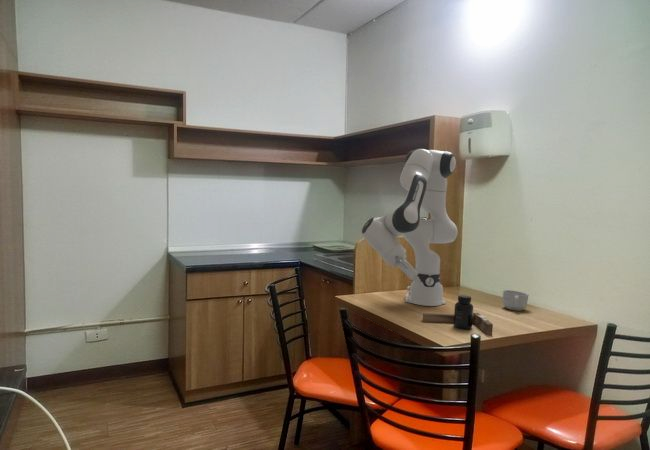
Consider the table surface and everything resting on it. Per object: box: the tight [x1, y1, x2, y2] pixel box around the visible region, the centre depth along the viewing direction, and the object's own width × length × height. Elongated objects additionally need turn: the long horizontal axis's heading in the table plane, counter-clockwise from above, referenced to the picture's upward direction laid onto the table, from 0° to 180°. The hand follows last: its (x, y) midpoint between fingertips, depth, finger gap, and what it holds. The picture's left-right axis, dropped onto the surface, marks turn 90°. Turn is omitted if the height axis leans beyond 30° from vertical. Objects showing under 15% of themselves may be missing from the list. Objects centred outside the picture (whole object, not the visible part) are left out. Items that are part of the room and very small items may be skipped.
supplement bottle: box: [453, 294, 474, 330], centre depth 174 cm, size 7×7×12 cm
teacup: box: [502, 289, 529, 312], centre depth 207 cm, size 14×11×8 cm
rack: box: [422, 312, 494, 336], centre depth 174 cm, size 16×22×4 cm
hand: (418, 281), depth 174 cm, fingers closed
